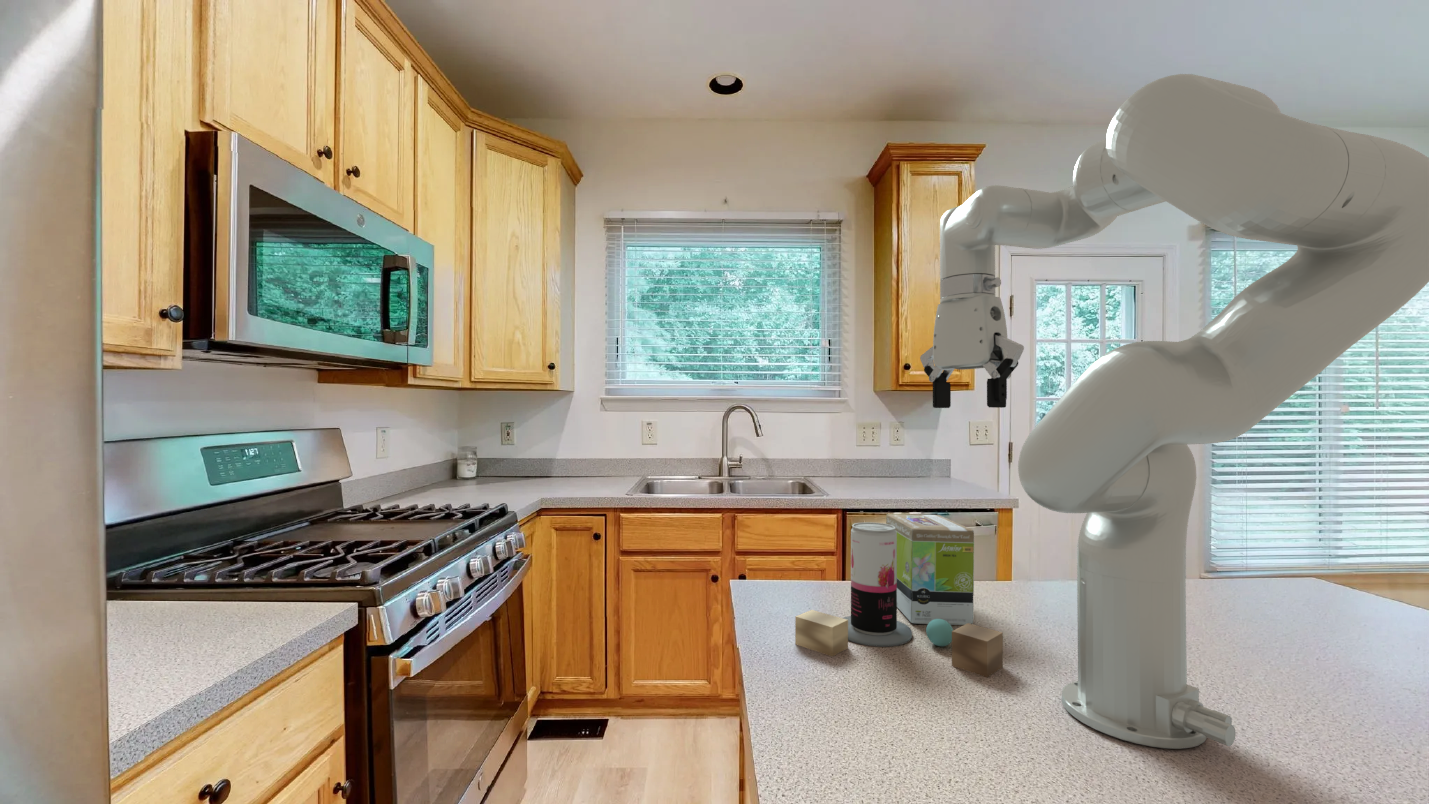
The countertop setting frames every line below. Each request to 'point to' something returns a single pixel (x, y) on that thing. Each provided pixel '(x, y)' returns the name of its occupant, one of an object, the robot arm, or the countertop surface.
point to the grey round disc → (880, 636)
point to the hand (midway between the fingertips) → (967, 407)
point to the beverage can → (874, 578)
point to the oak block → (821, 632)
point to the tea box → (934, 568)
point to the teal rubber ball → (939, 632)
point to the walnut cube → (977, 649)
